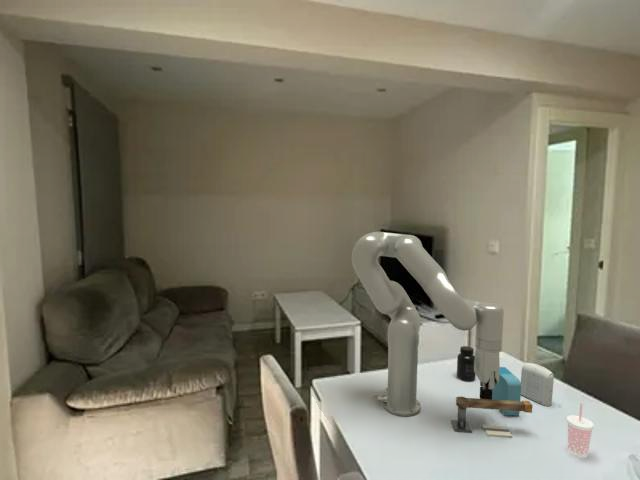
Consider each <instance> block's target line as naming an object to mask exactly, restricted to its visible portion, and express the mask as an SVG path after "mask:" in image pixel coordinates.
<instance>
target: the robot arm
mask: <svg viewBox="0 0 640 480" xmlns="http://www.w3.org/2000/svg"><path fill="white" fill-rule="evenodd" d="M379 257H389V258H395V259H397V260H398V262H400V263H401V265H402V266H403V267H404V268H405V269H406V270H407V272H408V273H409V274H410V276H412V277H413V278H414V279H415V281H417V283H418V284H419V285H420V286H421V288H422V289H423V291H424V292H425V293H426V295H427V296H428V298H429V299H430V301H432V303H433V304H434V306H435V307H436V308H437V309H438V311H439V312H440V313H441V314H442V316H443V317H444V318H445V319H446V320H447V321H448V322H449V323H450V324H451V325H452V326H453V327H454V328H455V329H457V330H459V331H464V332H465V331H469V330H471V329H473V328H474V327H475V337H474V338H475V340H474V343H475V344H474V346H475V350H474V356H475V359H474V372H475V374H476V376H475V377H477V378H478V380H479V399H492V390H494V383H495V384H498V383H499V372H500V367H501V365H500V364H501V363H500V362H501V361H500V352H502V350H503V330H504V312H505V311H504V307H503V305H501V304H499V303H495V302H489V301H486V302H485V301H483V302H482V301H476V300H472V299H468V298H462V297H461V296H460V294H458V292H457V291H456V290H455V288H454V287H453V286H452V283H451V282H450V280H449V278H448V277H447V273H446V272H445V270H444V269H443V268H442V266H440V264H439V263H438V262H437V261H436V260H434V258H433V257H432V256H431V255H430V254H429V253H428V251H427V250H426V249H425V247H423V244H422V241H421V240H420V239H419V238H418V237H417V236H415V235H413V234H405V233H404V234H403V233H395V232H394V233H393V232H384V231H373V232H370V233H367V234H364V235H363V236H360V238H359V239H358V240H357V242H356V243H355V245H354V246H353V249H352V253H351V264H352V268H353V270H354V272H355V274H356V275H357V277H358V279H359V280H360V282H361V284H362V286H363V288H364V289H365V291H366V293H367V295H368V297H370V300H371V302H372V304H373V306H374V307H375V308H376V310H377V311H378V312H380V313H381V314H383V315H389V318H390V319H391V320H390V322H389V323H388V328H387V343H388V344H387V345H388V347H387V348H388V349H387V351H388V356H387V361H388V362H387V363H388V364H387V387H386V389H385V391H373V398H375V399H376V398H377V401H379V402H382V407H383V409H384V410H386V412H389V413H391V414H392V415H396V416H401V417H410V416H415V415H417V414H419V413H420V412H421V410H422V404H421V401H419V400H418V399H417V394H418V393H417V392H418V391H417V390H418V387H417V386H418V364H419V363H418V361H419V360H418V359H419V356H418V355H419V350H418V349H419V345H418V344H419V333H420V328H421V324H422V323H421V322H422V321H421V320H422V319H421V316H420V314H419V311H418V310H417V308H416V306H415V304H414V303H413V302H412V300H411V299H410V296H409V295H408V294H407V292H406V290H405V289H404V287H403V286H402V285H401V284H400V283H399V282H396V281H394V280H390V278H389V276H387V273H386V272H385V270H384V269H383V267H382V265H380V264H379Z"/></svg>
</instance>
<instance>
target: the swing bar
mask: <svg viewBox="0 0 640 480" xmlns="http://www.w3.org/2000/svg"><path fill="white" fill-rule="evenodd" d="M455 401H456V402H455V405H456V407H457V408H458V407H460V408H466V409H468V408H469V409H470V408H471V409H482V410H483V409H484V410H498V411H500V410H511V411H520V412H523V413H527V414H528V413H529V414H533V406H534V405H533V403H531V402H530V401H529V400H520V401H507V400H492V399H480V398H476V397H475V398H473V397H466V396H457V397H455Z"/></svg>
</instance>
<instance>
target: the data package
mask: <svg viewBox="0 0 640 480" xmlns="http://www.w3.org/2000/svg"><path fill="white" fill-rule="evenodd" d="M521 396H522V395H521V379H519V378H518V377H517V376H516V375H515V374H514V373H512V372H511V371H510V370H509V369H508V368H507V367H505V366H500V372H499V383H498V384H495V383H494V390H492V400H507V401H521V398H522V397H521ZM499 411H500V412H501V414H502V415H504V416H519V415H520V412H521V411H511V410H499Z"/></svg>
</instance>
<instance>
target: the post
mask: <svg viewBox="0 0 640 480" xmlns="http://www.w3.org/2000/svg"><path fill="white" fill-rule="evenodd" d="M469 422H470V421H468V420H467V408H460V407H458V406H457V419H451V420H450V423H451V425H452V428H453V431H454V432H455V433H466V434H468V433H469V434H473V429H472V427H471V425H470V423H469Z"/></svg>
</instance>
